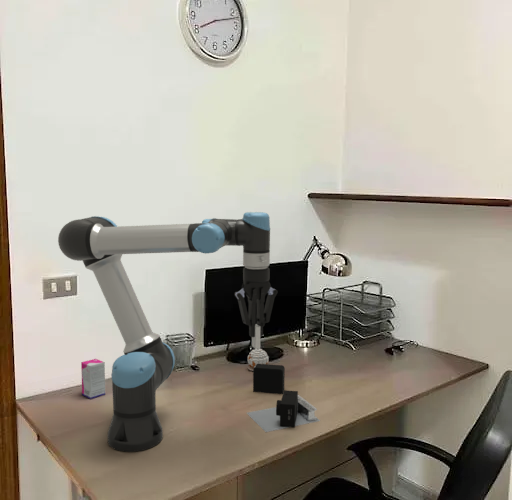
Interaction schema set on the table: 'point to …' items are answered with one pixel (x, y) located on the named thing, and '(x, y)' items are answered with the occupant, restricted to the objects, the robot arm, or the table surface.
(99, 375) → the supplement box
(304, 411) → the rail
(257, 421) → the mounting plate
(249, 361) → the decorative ornament
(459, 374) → the table surface
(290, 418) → the digital camera
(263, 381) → the electronic device
